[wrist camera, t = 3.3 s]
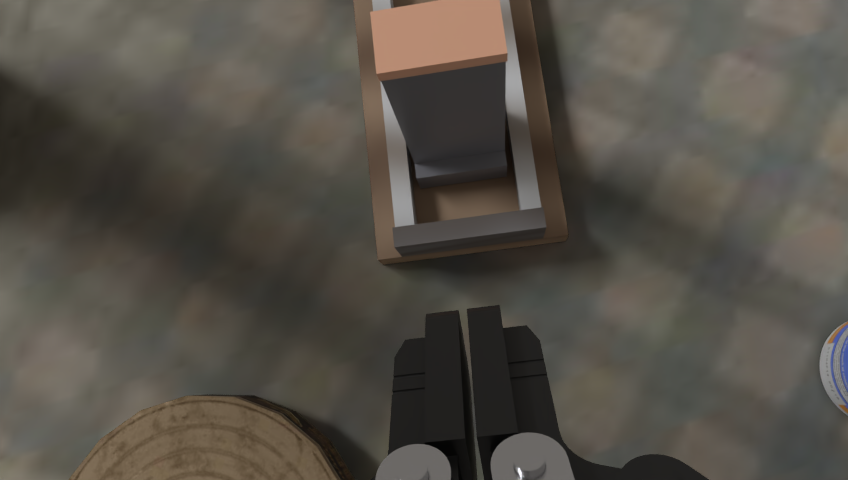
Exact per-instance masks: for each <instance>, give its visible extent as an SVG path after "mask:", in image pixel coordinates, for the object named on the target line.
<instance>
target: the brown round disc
mask: <svg viewBox="0 0 848 480" xmlns="http://www.w3.org/2000/svg"><path fill="white" fill-rule="evenodd" d="M69 480H355V479H354V477H353V476H352V474H351V473H350V471H349V469H348V468H347V466H346V464H345V463H344V461H343V460H342V458H341V456H340V455H339V453H338V451H337V450H336V448H335V447H334V445H333V443H332V442H331V441H330V440H329V439H328V438H327V437H326V436H324V435H323V434H322V433H321V432H320V431H318V430H317V429H316V428H315V427H314V426H312V425H311V424H310V423H309V422H308V421H307V420H305V419H304V418H303V417H302V416H301V415H299V414H298V413H297V412H296V411H293V410H291V409H288V408H285V407H283V406H280V405H278V404H275V403H272V402H270V401H267V400H264V399H262V398H259V397H257V396H250V395H192V396H184V397H181V398H178V399H175V400H172V401H169V402H166V403H162V404H159V405H156V406H153V407H150V408H147V409H143V410H141V411H139V412H138V413H136V414H135V415H134V416H132V417H131V418H129V419H128V420H127V421H125V422H124V423H122V424H121V425H120V426H118V427H117V428H115V429H114V430H113V431H111V432H110V433H108V434H107V435H105V436H104V437H103V438H101V439H100V440H99V441H98V443H97V444H96V445H95V447H94V448H93V449H92V450H91V452H90V453H89V454H88V455H87V457H86V458H85V459H84V461H83V462H82V463H81V464H80V466H79V467H78V468H77V469H76V471H75V472H74V473H73V475H72V476H71V477H70V478H69Z"/></svg>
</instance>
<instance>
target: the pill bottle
mask: <svg viewBox="0 0 848 480" xmlns="http://www.w3.org/2000/svg"><path fill="white" fill-rule="evenodd" d="M820 376H821V380H822V383H823V386H824V388H825V390H826V392H827V394H828V396H829V397H830V399H831V400H832V401H833V403H834V404H835V405H836V406H837V407H838V408H839V409H840V410H841V411H842V412H844V413H845V414H846V415H848V322H845V323H844V324H842V325H840V326H839V327H838V328H836V329H835V330H834V331H833V332H832V333H831V334H830V336H829V337H828V338H827V340H826V342H825V344H824V346H823V348H822V352H821V356H820Z"/></svg>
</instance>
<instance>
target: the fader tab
mask: <svg viewBox="0 0 848 480" xmlns="http://www.w3.org/2000/svg"><path fill="white" fill-rule="evenodd" d="M370 16H371V26H372V36H373V46H374V56H375V66H376V74H377V77H378V79H379V81H381V82H382V85H383V87H384V89H385V92H386V94H387V97H388V99H389V102H390V104H391V107H392V109H393V112H394V114H395V117H396V119H397V121H398V124H399V126H400V129H401V131H402V134H403V136H404V139H405V141H406V144H407V146H408V148H409V151H410V153H411V156H412V158H413V161H414V163H415V171H416V179H417V181H418V184H419V186H420V188H421V189H422V188H430V187H437V186H444V185H451V184H458V183H465V182H472V181H479V180H487V179H494V178H501V177H507V162H506V155H505V95H506V62H507V58H508V53H507V46H506V39H505V33H504V26H503V20H502V13H501V6H500V0H437V1H431V2H425V3H420V4H414V5H408V6H402V7H396V8H390V9H384V10H378V11H372V12H370Z"/></svg>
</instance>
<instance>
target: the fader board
mask: <svg viewBox="0 0 848 480" xmlns="http://www.w3.org/2000/svg"><path fill="white" fill-rule="evenodd" d="M353 1H354V12H355V23H356V33H357V44H358V55H359V65H360V76H361V86H362V97H363V108H364V118H365V129H366V140H367V150H368V161H369V172H370V182H371V193H372V204H373V214H374V225H375V236H376V246H377V257H378V261H379V262H380V263H382V264H383V265H386V264H393V263H401V262H409V261H416V260H424V259H432V258H439V257H447V256H455V255H463V254H470V253H478V252H486V251H493V250H501V249H509V248H516V247H524V246H532V245H540V244H547V243H555V242H563V241H566V240H567V237H568V235H569V234H568V228H567V222H566V216H565V210H564V204H563V198H562V191H561V185H560V179H559V173H558V167H557V161H556V155H555V149H554V143H553V136H552V130H551V124H550V118H549V112H548V106H547V100H546V94H545V88H544V81H543V75H542V69H541V63H540V57H539V51H538V45H537V39H536V32H535V26H534V20H533V14H532V8H531V2H530V0H500V6H501V13H502V20H503V26H504V33H505V39H506V46H507V53H508V58H507V62H506V95H505V155H506V162H507V177H501V178H494V179H487V180H479V181H472V182H465V183H458V184H451V185H444V186H437V187H430V188H422V189H421V188H420V186H419V184H418V181H417V179H416V171H415V163H414V161H413V158H412V156H411V153H410V151H409V148H408V146H407V144H406V141H405V139H404V136H403V134H402V131H401V129H400V126H399V124H398V121H397V119H396V117H395V114H394V112H393V109H392V107H391V104H390V102H389V99H388V97H387V94H386V92H385V89H384V87H383V85H382V82H381V81H379V79H378V77H377V74H376V66H375V56H374V46H373V36H372V26H371V16H370V12H372V11H378V10H384V9H390V8H396V7H402V6H408V5H414V4H420V3H425V2H431V1H437V0H353Z"/></svg>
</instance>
